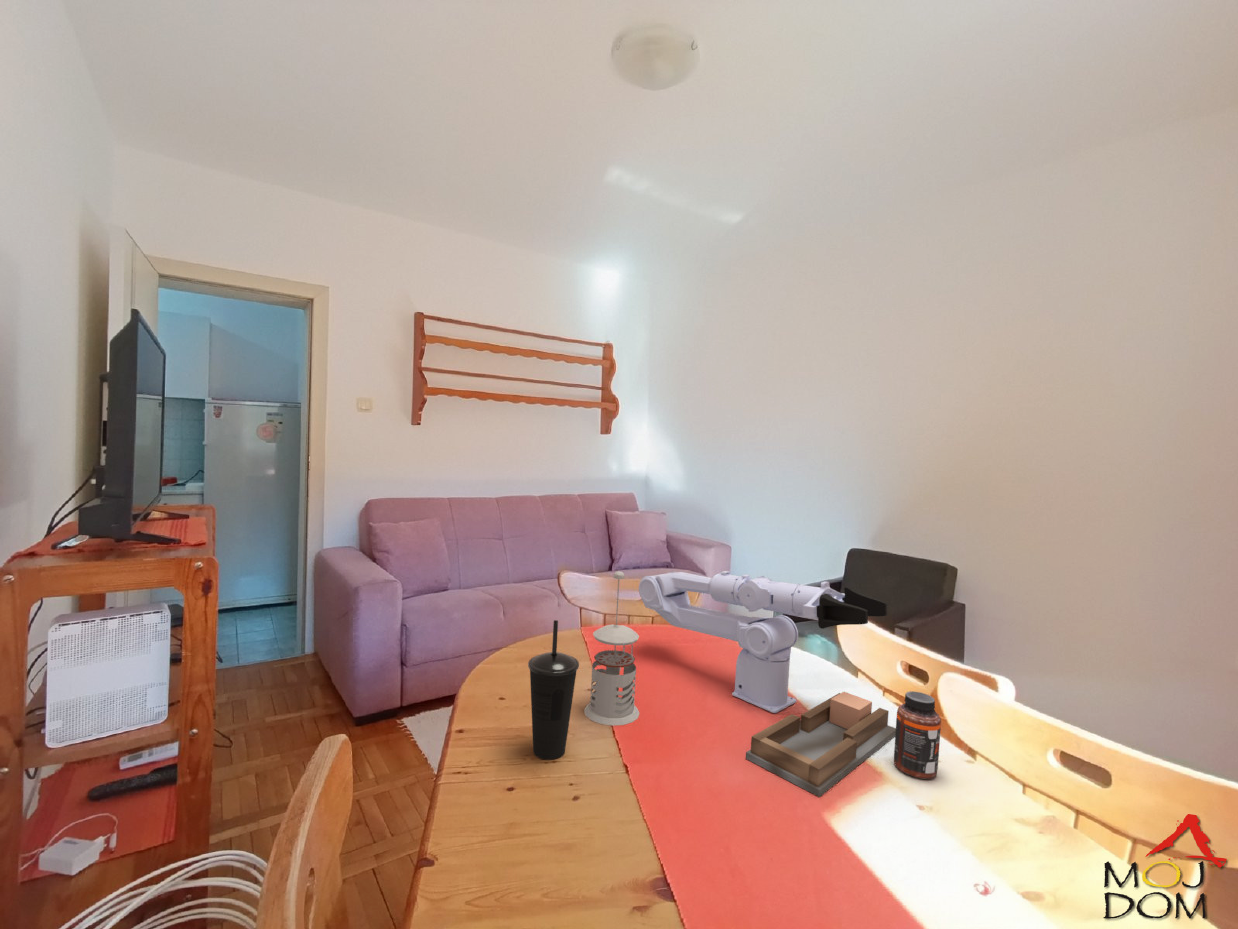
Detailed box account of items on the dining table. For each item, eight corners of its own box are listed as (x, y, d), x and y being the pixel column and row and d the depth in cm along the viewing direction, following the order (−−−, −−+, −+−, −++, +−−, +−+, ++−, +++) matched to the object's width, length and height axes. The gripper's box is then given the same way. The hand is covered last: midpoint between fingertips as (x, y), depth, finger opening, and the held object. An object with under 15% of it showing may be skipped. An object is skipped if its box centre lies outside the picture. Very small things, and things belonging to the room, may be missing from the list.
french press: (574, 717, 96) (581, 572, 95) (601, 691, 107) (608, 561, 106) (627, 731, 92) (635, 581, 91) (650, 702, 103) (657, 568, 102)
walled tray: (745, 758, 86) (746, 736, 86) (829, 708, 104) (831, 689, 104) (819, 797, 77) (820, 772, 77) (896, 734, 96) (898, 714, 96)
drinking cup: (583, 746, 87) (590, 619, 86) (557, 771, 80) (564, 632, 79) (541, 733, 90) (547, 610, 89) (513, 756, 83) (520, 623, 82)
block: (829, 721, 97) (830, 699, 97) (842, 713, 100) (843, 691, 100) (857, 733, 93) (859, 710, 93) (870, 724, 96) (872, 701, 96)
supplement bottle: (943, 784, 82) (949, 708, 81) (899, 777, 83) (904, 702, 82) (929, 762, 88) (934, 691, 87) (888, 756, 89) (893, 685, 88)
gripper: (779, 583, 97) (857, 595, 87) (819, 574, 107) (893, 583, 97) (779, 624, 97) (858, 640, 87) (820, 611, 106) (894, 624, 97)
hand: (876, 613), depth 92 cm, fingers open, 7 cm apart
